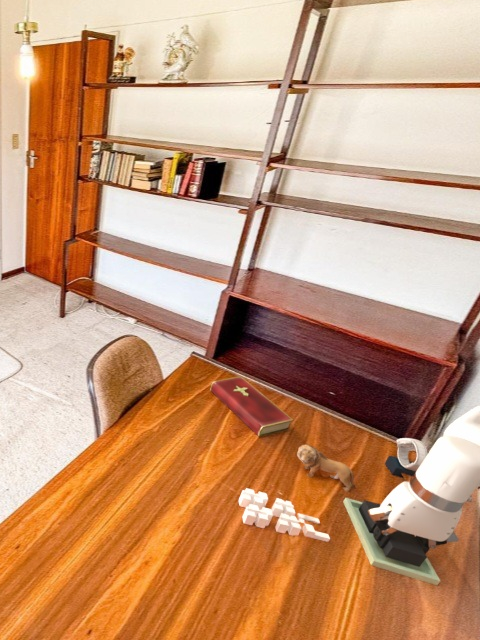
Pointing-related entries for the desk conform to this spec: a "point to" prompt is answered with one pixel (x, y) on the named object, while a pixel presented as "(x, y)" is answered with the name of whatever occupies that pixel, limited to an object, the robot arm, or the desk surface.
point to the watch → (406, 457)
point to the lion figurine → (325, 465)
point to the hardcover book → (251, 406)
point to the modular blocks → (277, 515)
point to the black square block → (365, 515)
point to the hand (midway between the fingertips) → (396, 546)
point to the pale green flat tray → (377, 554)
